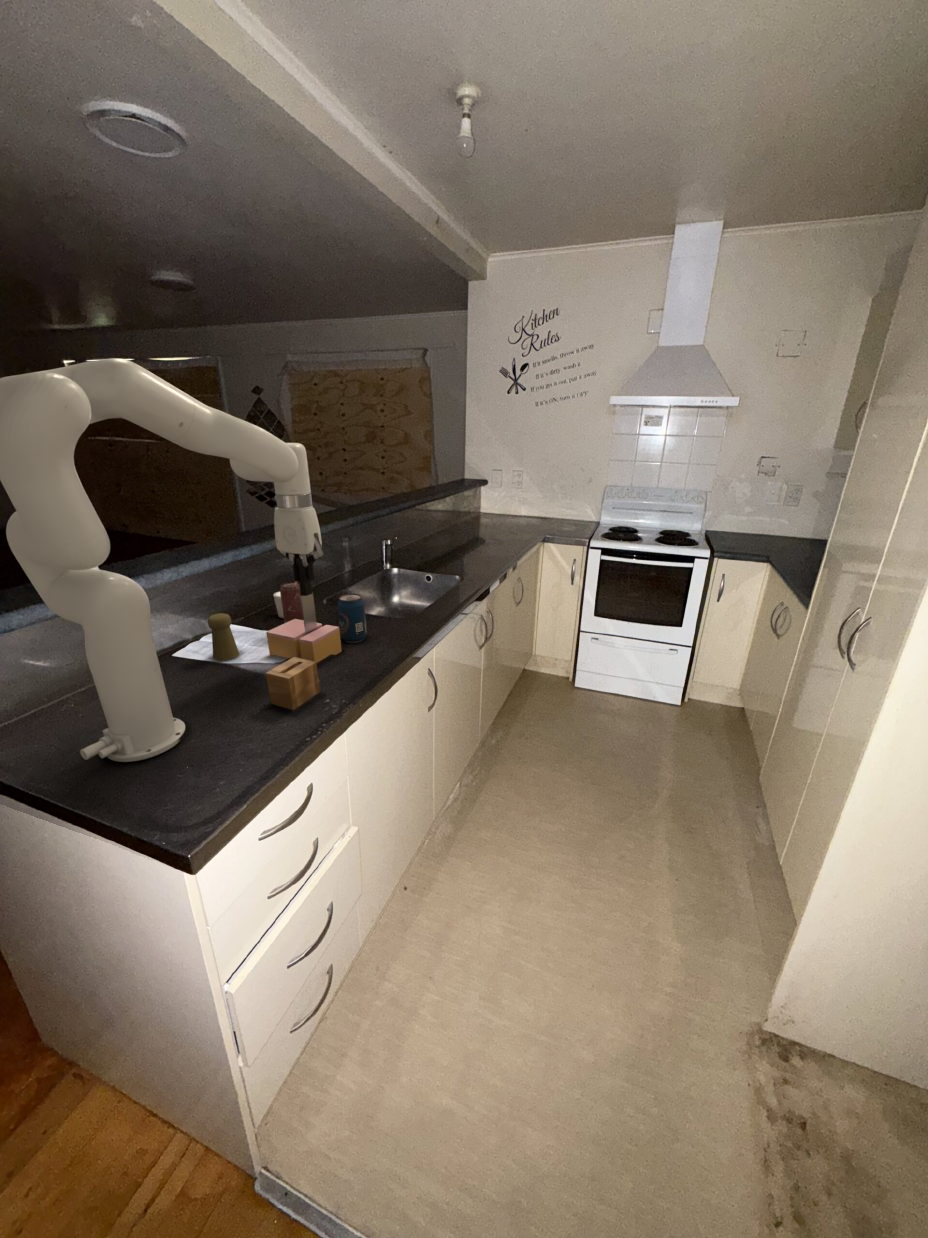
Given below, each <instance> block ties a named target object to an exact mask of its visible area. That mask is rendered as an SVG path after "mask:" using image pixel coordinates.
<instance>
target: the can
mask: <svg viewBox="0 0 928 1238" xmlns="http://www.w3.org/2000/svg"><path fill="white" fill-rule="evenodd" d="M279 592H280V594H281V601H282V608H283V615H284V618H283V620H284V624H285V623H287V622H289V621H291V620H293V619H299V620H303V612H302V605H301V598H300V597H301V596H304V595H301V592H300V585H299V581H298V582H295V580H294V581H286V582H283V583H281V584H280V587H279Z"/></svg>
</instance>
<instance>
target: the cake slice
mask: <svg viewBox="0 0 928 1238" xmlns="http://www.w3.org/2000/svg"><path fill="white" fill-rule="evenodd" d="M299 643H300V650H301V657H302V658H301V659H305V660H310V661H314V662H316V663H317V664H318V663H320V662H321V661H323V660H324V659H326V658H327V657H329V656H331V655H333V656H336V655H339V654H340V653H342V640H341V633H340V626H335V625H331V624H325V625H322V627H321V628H319V629H317V630H315V631H313V632H311V633H309V634H307V635H305V636H304V637H302V638H300V639H299Z"/></svg>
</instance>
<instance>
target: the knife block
mask: <svg viewBox="0 0 928 1238" xmlns="http://www.w3.org/2000/svg"><path fill="white" fill-rule="evenodd" d="M265 677H266V683H267V689H268V690H267V691H268V695H269V702H270V704H271V705H274V706H277V707H280V708H284V709H288V710H291V711H295V710H296V709H297V708H299V707H300V706H302V705H303V704H304V703H306V702H307V701H309V700H311V699H312V698H314V697H315V696H317V695H318V694H319V693H321V686H320V679H319V678H320V677H319V670H318V663H316V662H314V661H310V660H305V659H302V658H297V657H293V658H289V659H288V660H286V661H284V662H282V663H280V664H278V665H277V666H275V667H274V668H272V669H269V670H268V671H266V672H265Z"/></svg>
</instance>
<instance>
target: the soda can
mask: <svg viewBox="0 0 928 1238" xmlns="http://www.w3.org/2000/svg"><path fill="white" fill-rule="evenodd" d="M337 611H338V622H339V631H340V638H341V639H342V640H343V641H344V642H345V643H348V644H356V643H360V642H363V641H364V640H365V639H366V637H367V635H368V631H367V630H368V629H367V619H366V606H365V601H364V599H363V598H362V595H361V594H358V593H346V594H342V595H340V596H339V598H338V602H337Z"/></svg>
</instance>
